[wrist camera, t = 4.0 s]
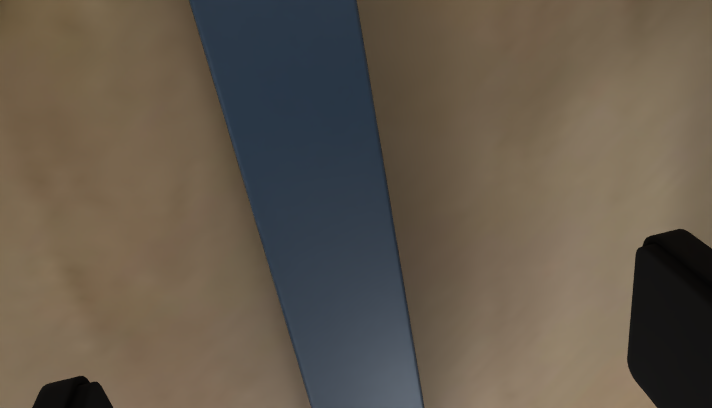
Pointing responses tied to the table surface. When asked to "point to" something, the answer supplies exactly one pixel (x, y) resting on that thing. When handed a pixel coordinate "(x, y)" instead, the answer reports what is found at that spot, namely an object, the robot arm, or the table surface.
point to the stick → (317, 190)
